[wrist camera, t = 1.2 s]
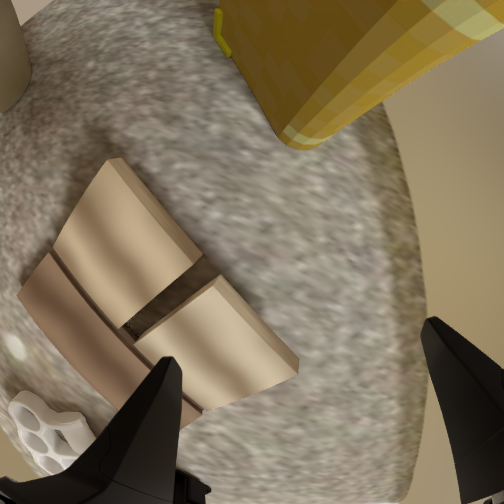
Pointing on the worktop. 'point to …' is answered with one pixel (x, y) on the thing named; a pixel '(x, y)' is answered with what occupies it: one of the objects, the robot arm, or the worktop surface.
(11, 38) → the plant pot
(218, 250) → the worktop surface
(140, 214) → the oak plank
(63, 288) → the walnut board
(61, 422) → the white honeycomb tray
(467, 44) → the book
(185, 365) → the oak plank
